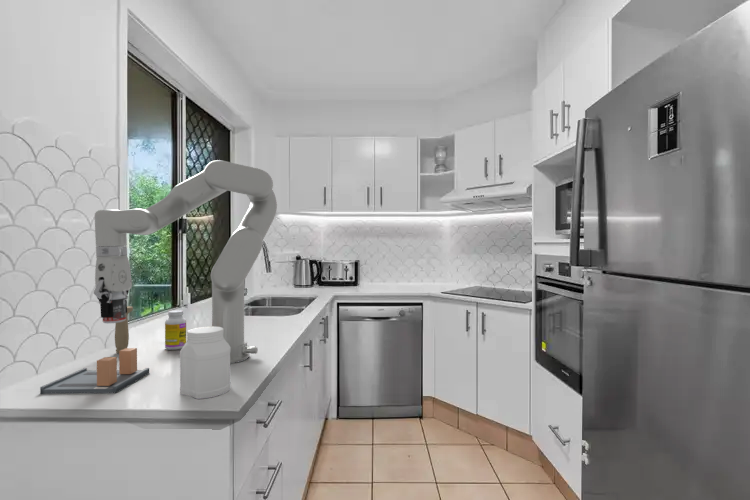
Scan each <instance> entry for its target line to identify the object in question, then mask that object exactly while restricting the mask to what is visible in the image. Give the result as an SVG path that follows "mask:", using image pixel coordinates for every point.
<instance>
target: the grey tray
mask: <svg viewBox="0 0 750 500" xmlns="http://www.w3.org/2000/svg"><path fill="white" fill-rule="evenodd" d="M87 369H88V368H86V367H84V368H81V369H79V370H77V371H74V372H72V373H69V374H67V375H65V376H63V377H60V378H58V379H56V380H54V381H51V382H49V383H47V384H44V385H42V386H40V387H39V390H40V391H39V392H40V394H41V395H44V394H45V395H46V394H49V395H51V394H58V395H59V394H61V395H62V394H117V393H119V392H121V391H122V390H123V389H125V388H128V387H129V386H131V385H132V384H134V383H135V382H138V381H139V380H141V379H143V378H144V377H146V376H148V375H150V368H149V367H145V368H144V369H137V371H136V372H134V373H132V374H119V369H117V382H115V383H113V384H112V385H110V386H97V369H96V370H95V369H94V370H93V369H92V370H87Z"/></svg>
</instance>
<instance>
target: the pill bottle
mask: <svg viewBox="0 0 750 500" xmlns="http://www.w3.org/2000/svg"><path fill="white" fill-rule="evenodd" d="M105 292H109V291H108V290H105ZM122 292H123V291H121V292H116V293H113V295H112V300H111V303H113V315H114V316H113V317H106V318H102V322H103V323H104V324H116V323H118V322H123V321H125V320H126V304H125V300H126V299H125V295H123V294H122ZM106 297H108V295H106Z"/></svg>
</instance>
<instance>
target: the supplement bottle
mask: <svg viewBox="0 0 750 500" xmlns="http://www.w3.org/2000/svg"><path fill="white" fill-rule="evenodd" d="M167 315H168V318H167V319H165V322H164V348H165V350H168V351H169V350H170V351H175V350H176V351H177V350H181V349H182V348H183V346H184V345H185V343H186V342H187V319H186V318H185V317H183V315H184V310H181V309H179V310H176V309H175V310H170V311H168V314H167Z"/></svg>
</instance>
